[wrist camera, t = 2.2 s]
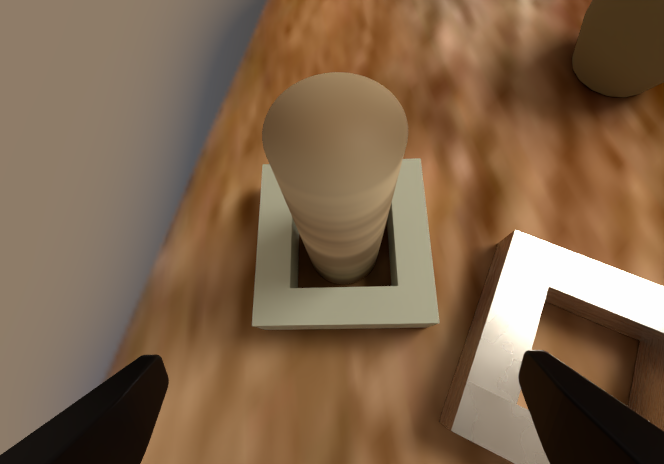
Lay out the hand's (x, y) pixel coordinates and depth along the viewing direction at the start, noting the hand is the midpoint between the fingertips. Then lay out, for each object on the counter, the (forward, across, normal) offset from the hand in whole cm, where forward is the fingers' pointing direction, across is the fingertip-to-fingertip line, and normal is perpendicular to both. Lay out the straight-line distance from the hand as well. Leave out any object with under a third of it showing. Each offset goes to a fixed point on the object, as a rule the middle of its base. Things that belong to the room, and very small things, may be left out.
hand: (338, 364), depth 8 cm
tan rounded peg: (+14, 0, +4) cm, 14 cm away
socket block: (+8, -13, +10) cm, 18 cm away
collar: (+14, 0, +4) cm, 14 cm away
